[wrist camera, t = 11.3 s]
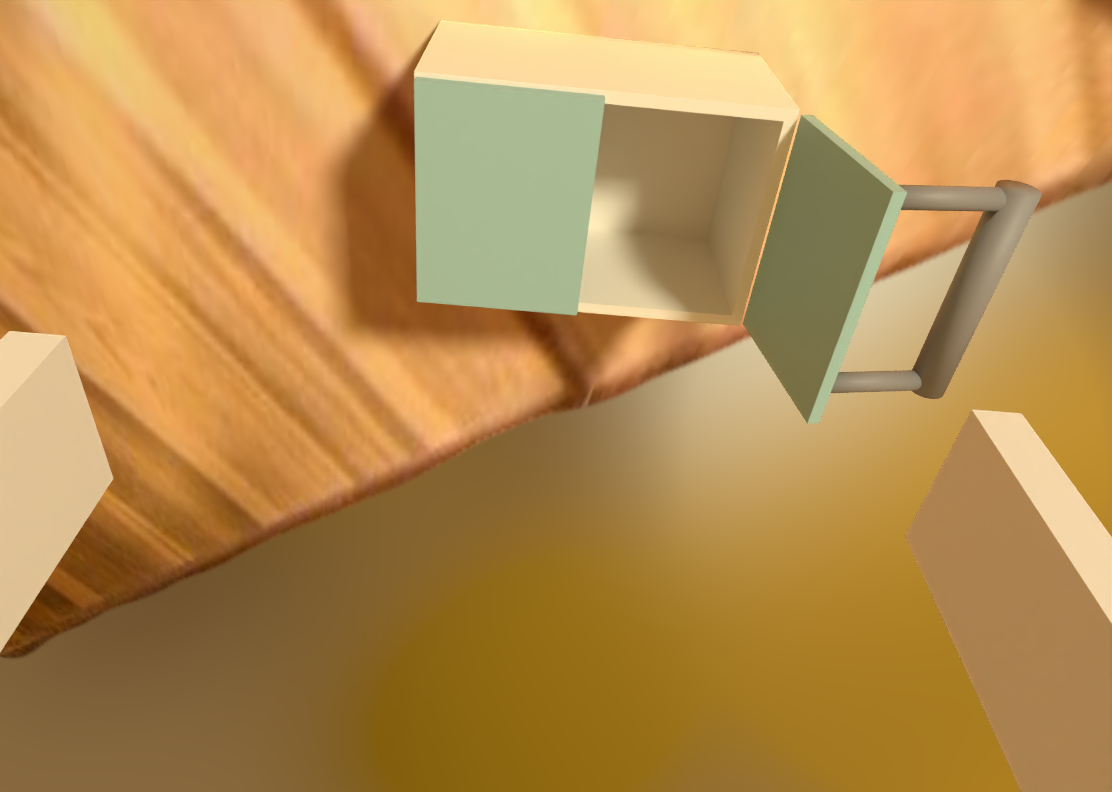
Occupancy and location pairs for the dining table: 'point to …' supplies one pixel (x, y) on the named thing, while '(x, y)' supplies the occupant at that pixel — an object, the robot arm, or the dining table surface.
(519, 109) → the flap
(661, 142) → the carton
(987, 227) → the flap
